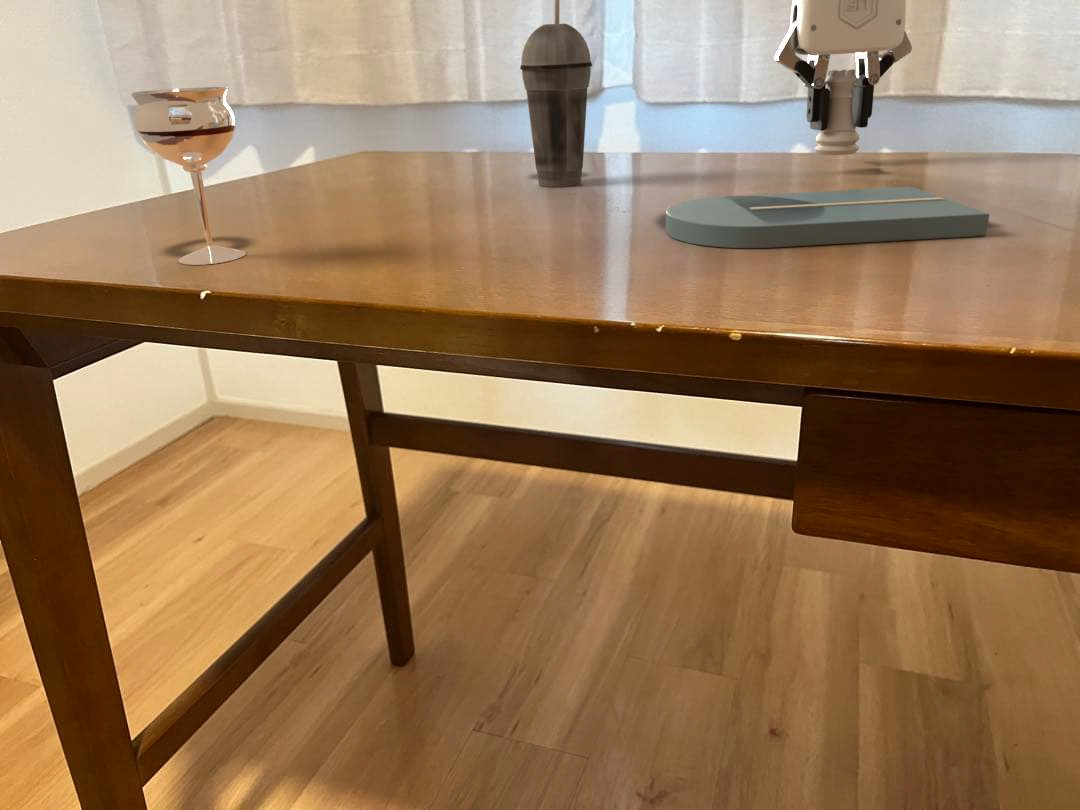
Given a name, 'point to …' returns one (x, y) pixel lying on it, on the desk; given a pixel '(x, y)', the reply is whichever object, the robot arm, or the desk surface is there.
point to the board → (822, 218)
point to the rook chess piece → (839, 116)
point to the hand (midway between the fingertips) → (838, 126)
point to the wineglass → (189, 144)
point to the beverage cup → (557, 100)
